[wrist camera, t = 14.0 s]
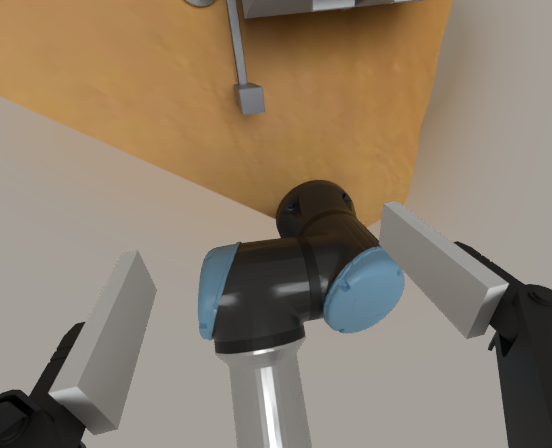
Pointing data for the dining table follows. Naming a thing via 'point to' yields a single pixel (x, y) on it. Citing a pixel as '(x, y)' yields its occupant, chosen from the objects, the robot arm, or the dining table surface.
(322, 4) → the cabinet
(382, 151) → the dining table surface
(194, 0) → the steel token
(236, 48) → the l-shaped tool
